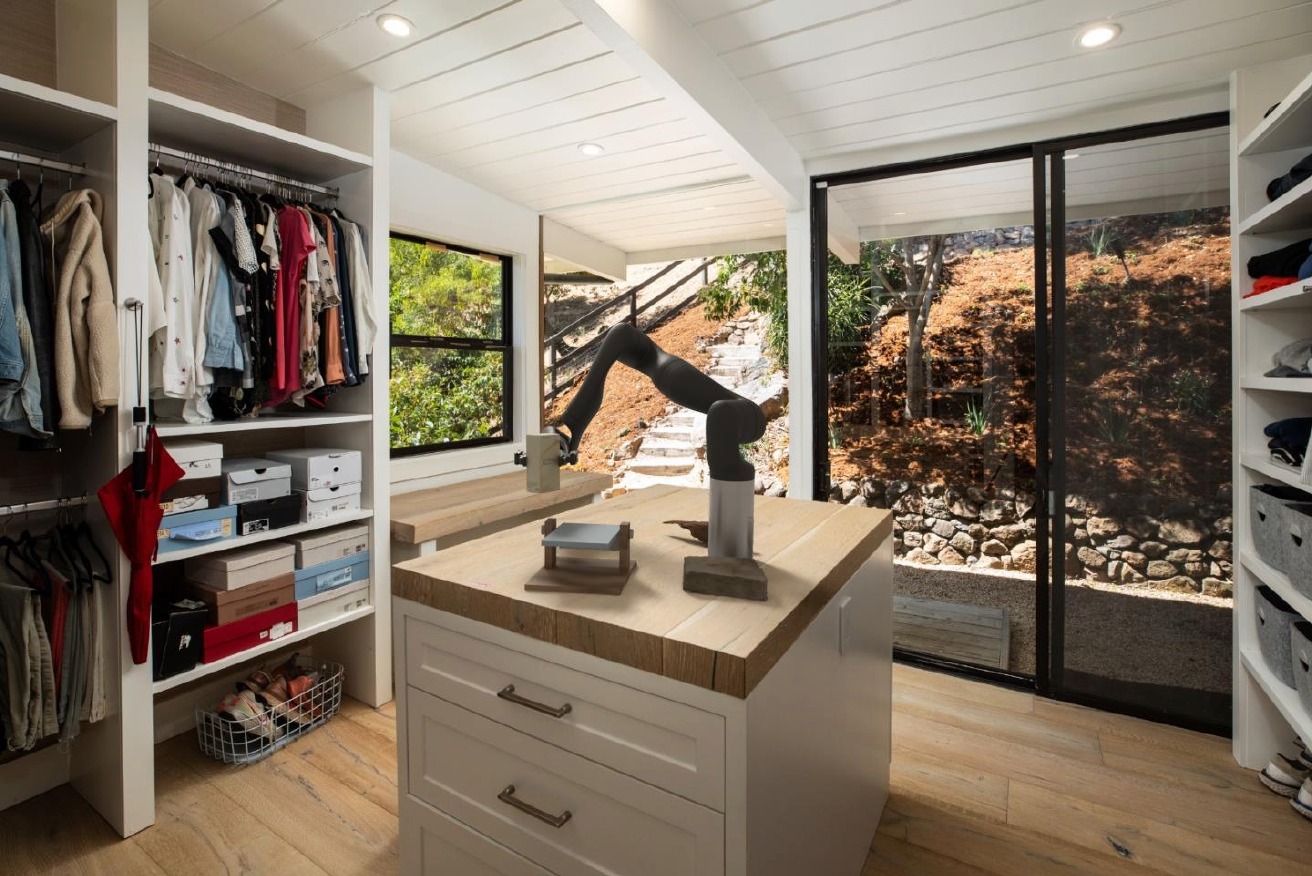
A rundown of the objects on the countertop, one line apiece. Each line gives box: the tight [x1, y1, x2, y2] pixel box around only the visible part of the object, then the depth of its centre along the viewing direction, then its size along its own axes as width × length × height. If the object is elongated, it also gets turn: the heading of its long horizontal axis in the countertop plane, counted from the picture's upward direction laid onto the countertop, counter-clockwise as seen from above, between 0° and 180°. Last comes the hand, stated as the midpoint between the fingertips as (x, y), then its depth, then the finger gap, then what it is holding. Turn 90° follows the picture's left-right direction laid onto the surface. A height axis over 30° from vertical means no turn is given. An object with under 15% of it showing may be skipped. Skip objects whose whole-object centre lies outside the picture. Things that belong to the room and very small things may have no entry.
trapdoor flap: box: [540, 522, 620, 552], centre depth 127 cm, size 15×12×4 cm
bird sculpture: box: [662, 519, 755, 544], centre depth 156 cm, size 7×25×5 cm, turn 54°
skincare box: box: [525, 433, 561, 494], centre depth 143 cm, size 6×4×12 cm
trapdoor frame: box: [523, 517, 638, 596], centre depth 127 cm, size 19×18×10 cm
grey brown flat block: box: [682, 555, 769, 602], centre depth 124 cm, size 17×15×4 cm
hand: (542, 461), depth 141 cm, fingers closed on skincare box, 7 cm apart
